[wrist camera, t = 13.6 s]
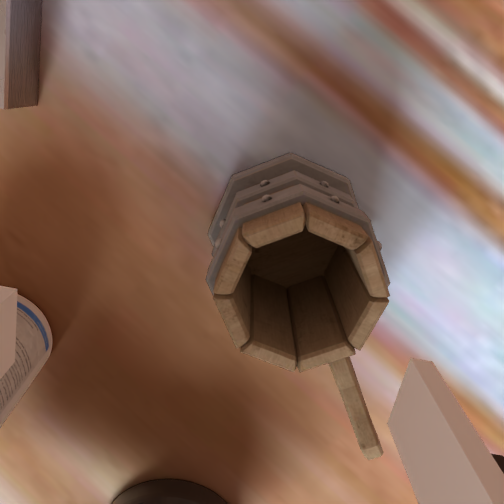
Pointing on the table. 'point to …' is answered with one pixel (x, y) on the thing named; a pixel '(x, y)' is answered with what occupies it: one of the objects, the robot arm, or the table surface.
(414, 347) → the table surface
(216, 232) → the tankard
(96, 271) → the table surface
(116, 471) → the table surface
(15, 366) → the supplement tub
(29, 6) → the stand
